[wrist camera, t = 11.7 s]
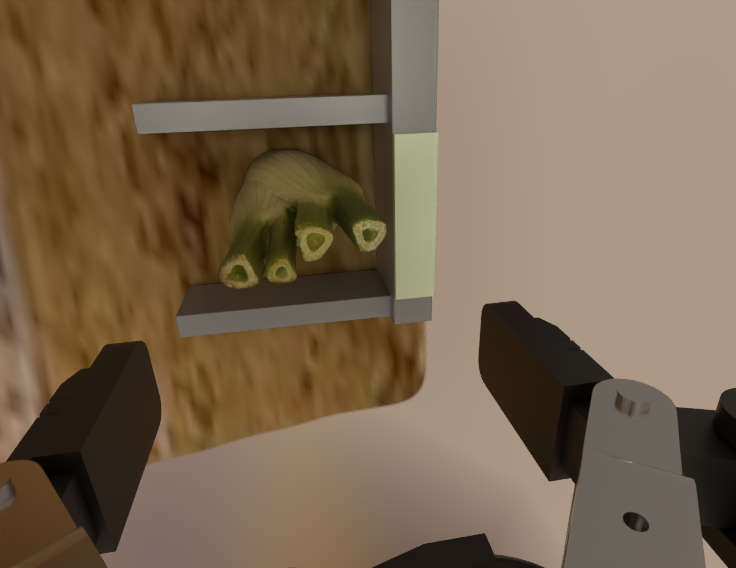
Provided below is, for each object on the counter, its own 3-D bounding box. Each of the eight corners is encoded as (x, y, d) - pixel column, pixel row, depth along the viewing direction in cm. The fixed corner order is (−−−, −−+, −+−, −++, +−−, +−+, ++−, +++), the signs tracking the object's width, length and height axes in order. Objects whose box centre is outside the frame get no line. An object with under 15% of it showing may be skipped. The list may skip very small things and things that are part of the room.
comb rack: (105, -156, 20) (47, -235, 15) (409, -146, 22) (447, -213, 17) (193, 304, 28) (174, 351, 23) (408, 284, 30) (433, 323, 25)
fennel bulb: (351, 156, 26) (400, 207, 16) (335, 240, 28) (368, 340, 17) (244, 135, 25) (214, 174, 14) (233, 224, 27) (200, 321, 16)
